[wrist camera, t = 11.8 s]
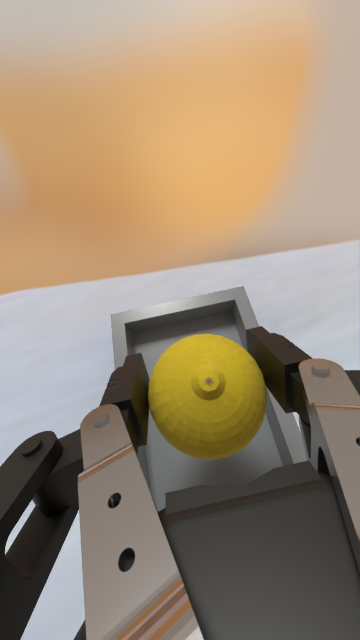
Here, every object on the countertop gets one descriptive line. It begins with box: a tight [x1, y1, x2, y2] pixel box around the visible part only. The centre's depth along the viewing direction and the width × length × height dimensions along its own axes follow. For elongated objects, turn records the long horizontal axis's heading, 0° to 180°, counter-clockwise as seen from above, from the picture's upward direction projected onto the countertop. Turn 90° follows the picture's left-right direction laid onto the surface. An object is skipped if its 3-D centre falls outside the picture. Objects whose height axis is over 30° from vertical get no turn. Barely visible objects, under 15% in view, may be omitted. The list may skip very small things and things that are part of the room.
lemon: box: [148, 334, 267, 460], centre depth 11 cm, size 6×6×8 cm
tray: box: [111, 286, 307, 512], centre depth 18 cm, size 13×18×3 cm
